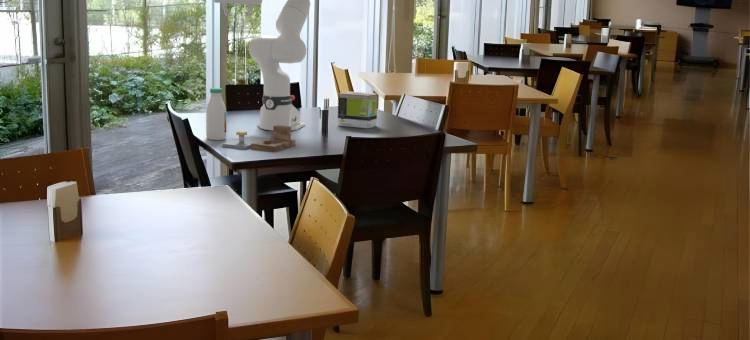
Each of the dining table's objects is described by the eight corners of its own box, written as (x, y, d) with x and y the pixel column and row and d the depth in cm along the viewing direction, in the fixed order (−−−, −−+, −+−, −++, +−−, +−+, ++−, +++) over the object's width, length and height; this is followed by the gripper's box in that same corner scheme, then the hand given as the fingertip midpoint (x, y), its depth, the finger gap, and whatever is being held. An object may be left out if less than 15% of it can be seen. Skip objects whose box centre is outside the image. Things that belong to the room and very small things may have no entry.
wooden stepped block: (272, 142, 334) (272, 124, 333) (295, 145, 330) (295, 127, 329) (251, 148, 320) (251, 130, 318) (274, 151, 316) (274, 133, 315)
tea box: (377, 126, 381) (378, 93, 378) (367, 129, 372) (368, 95, 369) (347, 122, 387) (347, 90, 384) (336, 125, 378) (337, 92, 375)
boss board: (250, 138, 340) (250, 125, 339) (272, 141, 336) (272, 127, 335) (222, 146, 322) (222, 132, 321) (245, 149, 318) (245, 135, 317)
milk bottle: (222, 141, 333) (221, 90, 329) (203, 139, 334) (202, 88, 330) (229, 138, 340) (229, 87, 336) (210, 136, 342) (210, 86, 337)
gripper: (265, -20, 324) (265, 17, 327) (219, -22, 332) (219, 14, 335) (256, -21, 318) (256, 17, 321) (210, -22, 326) (210, 14, 329)
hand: (237, 15), depth 328 cm, fingers open, 8 cm apart
